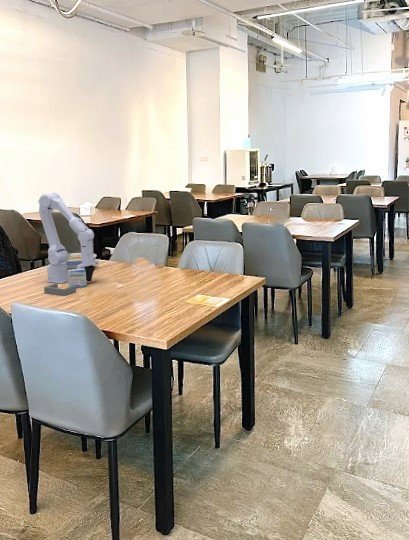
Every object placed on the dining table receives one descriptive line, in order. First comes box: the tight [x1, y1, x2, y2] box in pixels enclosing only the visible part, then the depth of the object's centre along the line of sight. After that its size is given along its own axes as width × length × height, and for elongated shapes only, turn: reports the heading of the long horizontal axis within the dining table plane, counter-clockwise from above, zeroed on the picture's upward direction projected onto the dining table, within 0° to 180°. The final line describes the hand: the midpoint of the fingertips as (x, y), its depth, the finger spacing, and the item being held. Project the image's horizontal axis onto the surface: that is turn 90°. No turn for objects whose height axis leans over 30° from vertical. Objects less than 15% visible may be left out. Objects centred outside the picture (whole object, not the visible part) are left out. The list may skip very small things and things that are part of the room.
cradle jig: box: [43, 283, 77, 297], centre depth 243 cm, size 12×8×3 cm, turn 63°
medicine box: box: [67, 268, 87, 289], centre depth 253 cm, size 8×4×9 cm, turn 117°
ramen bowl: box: [66, 250, 97, 270], centre depth 294 cm, size 25×23×8 cm
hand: (88, 281), depth 262 cm, fingers closed
